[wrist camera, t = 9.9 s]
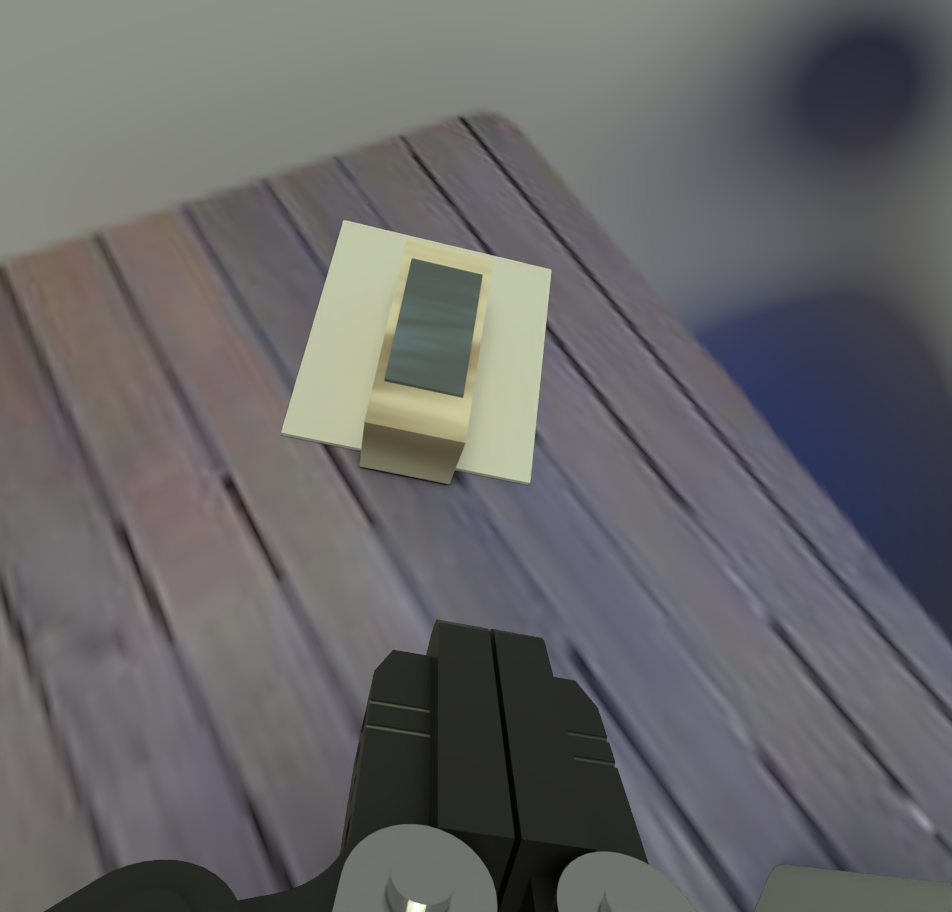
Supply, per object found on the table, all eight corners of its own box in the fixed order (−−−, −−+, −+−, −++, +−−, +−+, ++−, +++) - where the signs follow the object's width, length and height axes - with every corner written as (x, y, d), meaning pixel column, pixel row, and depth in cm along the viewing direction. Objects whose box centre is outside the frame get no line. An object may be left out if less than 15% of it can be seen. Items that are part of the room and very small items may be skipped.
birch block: (466, 440, 34) (494, 256, 40) (364, 419, 34) (407, 235, 39) (449, 484, 39) (476, 313, 45) (359, 466, 38) (398, 295, 44)
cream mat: (528, 485, 40) (530, 483, 40) (281, 435, 39) (281, 432, 38) (550, 272, 48) (551, 269, 48) (343, 223, 46) (343, 220, 46)
